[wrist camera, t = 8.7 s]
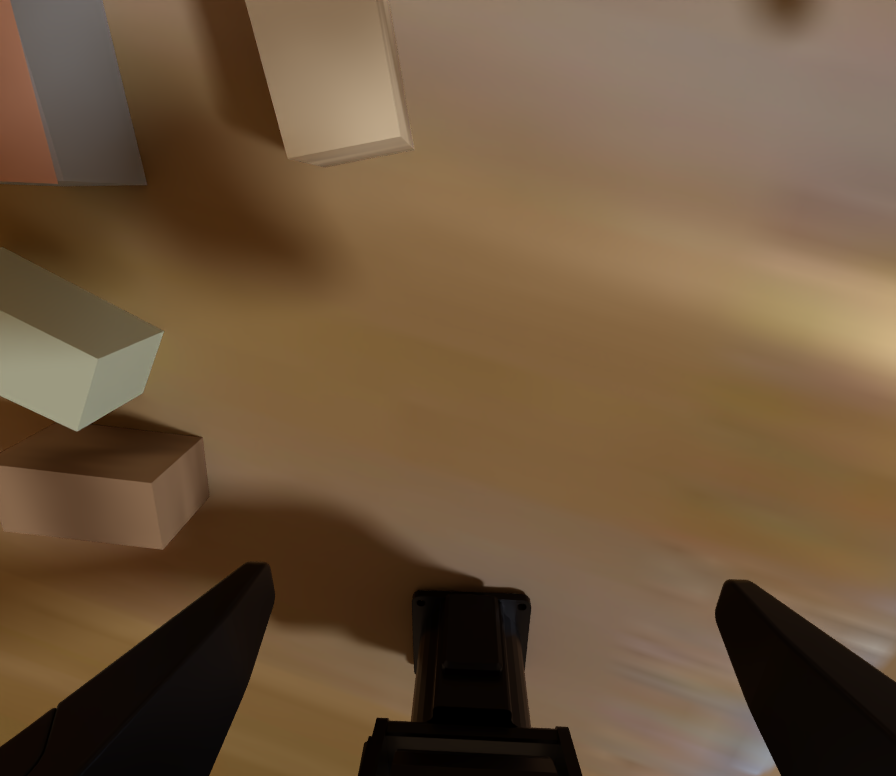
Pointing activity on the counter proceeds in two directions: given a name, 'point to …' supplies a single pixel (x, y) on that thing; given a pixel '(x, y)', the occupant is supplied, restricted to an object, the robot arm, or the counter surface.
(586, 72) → the counter surface
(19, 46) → the terracotta block
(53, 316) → the sage block
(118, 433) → the walnut block
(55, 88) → the slate block
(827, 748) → the robot arm
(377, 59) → the birch block
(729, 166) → the counter surface
